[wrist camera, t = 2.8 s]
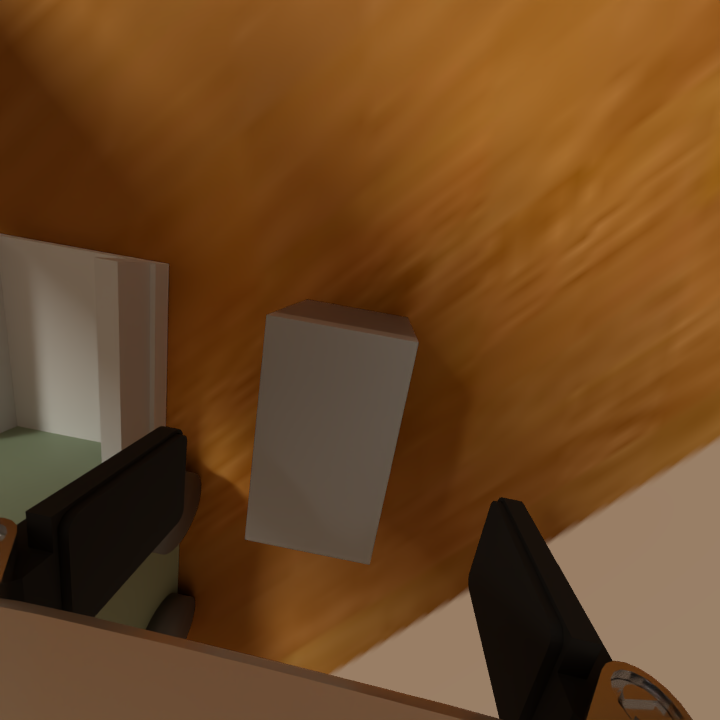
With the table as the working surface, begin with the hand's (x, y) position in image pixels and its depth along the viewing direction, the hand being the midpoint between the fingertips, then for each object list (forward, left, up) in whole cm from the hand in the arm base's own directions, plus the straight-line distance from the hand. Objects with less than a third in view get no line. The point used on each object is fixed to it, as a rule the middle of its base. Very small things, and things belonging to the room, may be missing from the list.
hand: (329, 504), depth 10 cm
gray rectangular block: (0, -1, -8) cm, 8 cm away
